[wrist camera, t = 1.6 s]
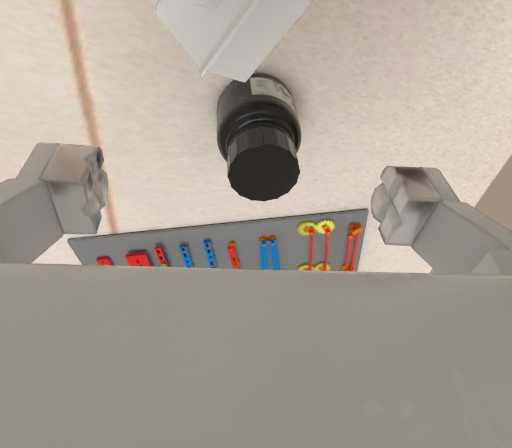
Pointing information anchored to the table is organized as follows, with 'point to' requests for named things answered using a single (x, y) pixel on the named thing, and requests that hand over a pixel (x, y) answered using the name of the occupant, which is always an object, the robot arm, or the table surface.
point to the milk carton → (229, 31)
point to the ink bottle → (259, 137)
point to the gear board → (238, 245)
